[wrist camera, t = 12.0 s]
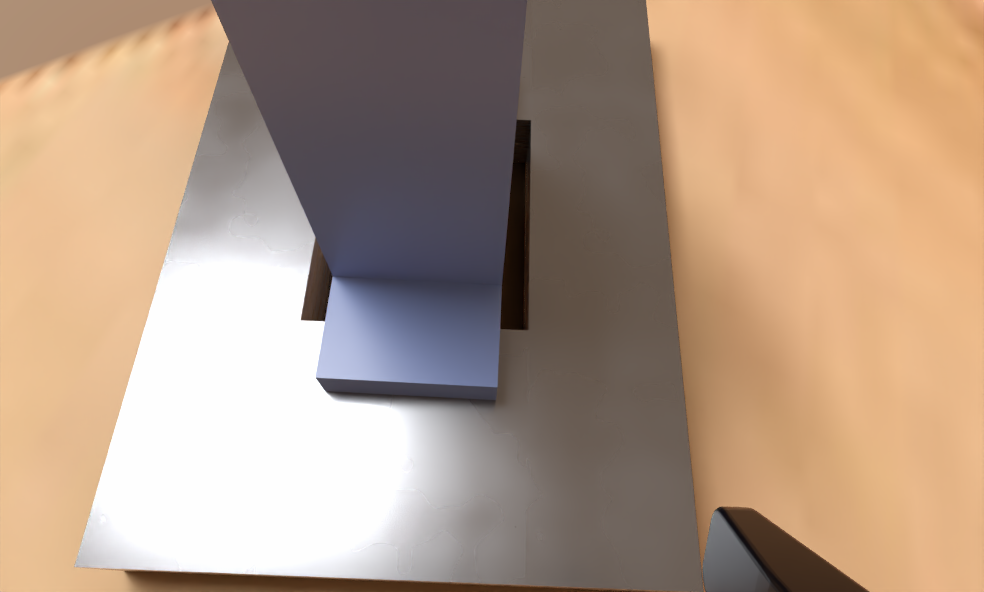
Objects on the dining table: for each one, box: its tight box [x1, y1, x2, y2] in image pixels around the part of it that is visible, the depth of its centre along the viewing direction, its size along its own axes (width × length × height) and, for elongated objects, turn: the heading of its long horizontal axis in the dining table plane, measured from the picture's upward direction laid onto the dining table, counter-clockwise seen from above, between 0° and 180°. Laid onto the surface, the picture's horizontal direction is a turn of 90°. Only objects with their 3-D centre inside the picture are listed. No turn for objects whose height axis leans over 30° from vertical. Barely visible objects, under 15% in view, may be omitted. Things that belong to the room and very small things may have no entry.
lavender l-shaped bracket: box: [211, 0, 527, 400], centre depth 12 cm, size 10×4×15 cm, turn 177°
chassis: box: [74, 0, 703, 592], centre depth 18 cm, size 18×13×2 cm
